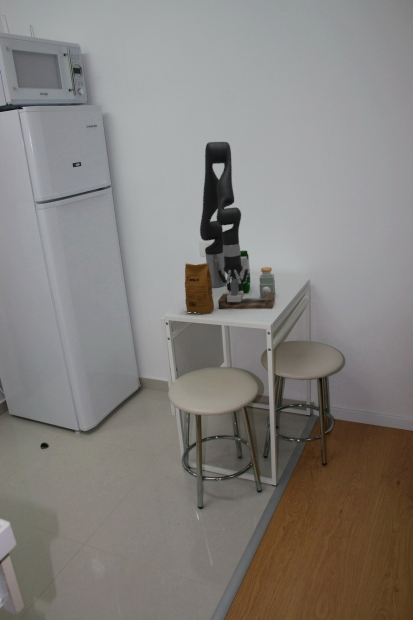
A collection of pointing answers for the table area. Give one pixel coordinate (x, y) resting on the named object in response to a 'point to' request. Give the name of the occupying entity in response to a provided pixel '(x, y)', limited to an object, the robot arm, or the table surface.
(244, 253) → the milk carton
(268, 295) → the rail bed
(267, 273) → the button
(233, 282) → the carriage
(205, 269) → the coffee package
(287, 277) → the table surface
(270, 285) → the cabinet
